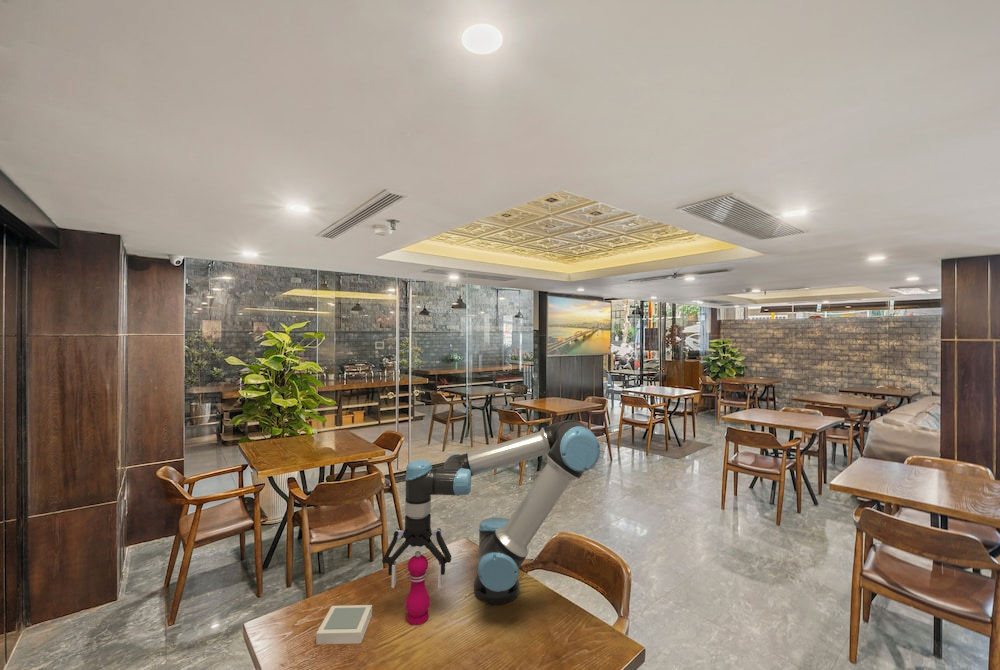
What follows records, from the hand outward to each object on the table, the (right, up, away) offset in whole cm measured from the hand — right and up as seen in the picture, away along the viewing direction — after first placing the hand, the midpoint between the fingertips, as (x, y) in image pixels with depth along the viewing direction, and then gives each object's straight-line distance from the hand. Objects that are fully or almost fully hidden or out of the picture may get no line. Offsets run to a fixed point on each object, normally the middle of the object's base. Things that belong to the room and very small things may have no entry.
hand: (416, 585), depth 128 cm
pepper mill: (0, -10, 0) cm, 10 cm away
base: (-20, -10, -5) cm, 22 cm away
